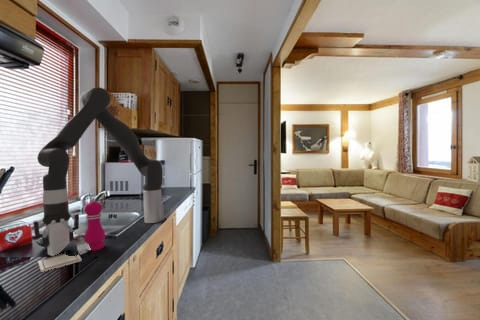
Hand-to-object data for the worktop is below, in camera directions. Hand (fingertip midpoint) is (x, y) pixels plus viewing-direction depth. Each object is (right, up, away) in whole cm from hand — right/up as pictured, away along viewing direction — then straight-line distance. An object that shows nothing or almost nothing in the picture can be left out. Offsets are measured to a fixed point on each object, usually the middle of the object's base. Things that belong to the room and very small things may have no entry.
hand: (58, 243), depth 91 cm
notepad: (+6, -4, -8) cm, 11 cm away
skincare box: (0, -4, 0) cm, 4 cm away
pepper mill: (+12, -3, +4) cm, 13 cm away
